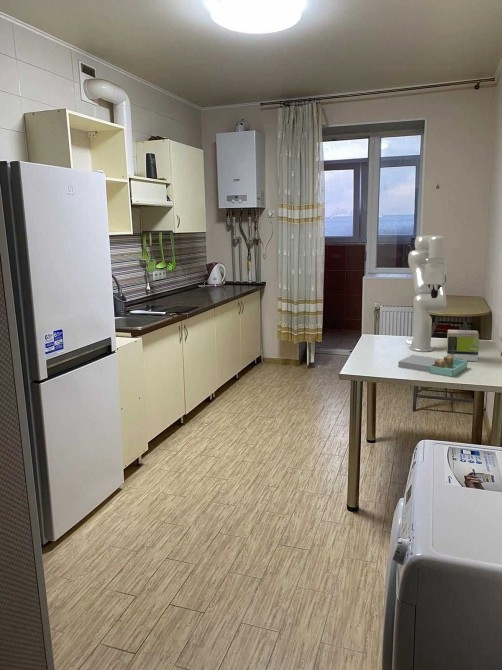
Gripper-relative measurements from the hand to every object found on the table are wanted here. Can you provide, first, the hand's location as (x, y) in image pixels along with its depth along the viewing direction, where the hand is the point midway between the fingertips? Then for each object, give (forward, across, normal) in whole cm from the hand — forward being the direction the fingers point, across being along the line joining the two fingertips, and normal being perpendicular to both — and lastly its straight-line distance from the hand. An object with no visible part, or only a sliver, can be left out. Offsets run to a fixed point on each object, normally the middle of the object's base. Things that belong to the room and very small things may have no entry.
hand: (434, 297), depth 262 cm
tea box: (+33, +11, +14) cm, 38 cm away
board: (+33, 0, -13) cm, 36 cm away
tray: (+33, +14, -13) cm, 38 cm away
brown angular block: (+30, +10, -8) cm, 33 cm away
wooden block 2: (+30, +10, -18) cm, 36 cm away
